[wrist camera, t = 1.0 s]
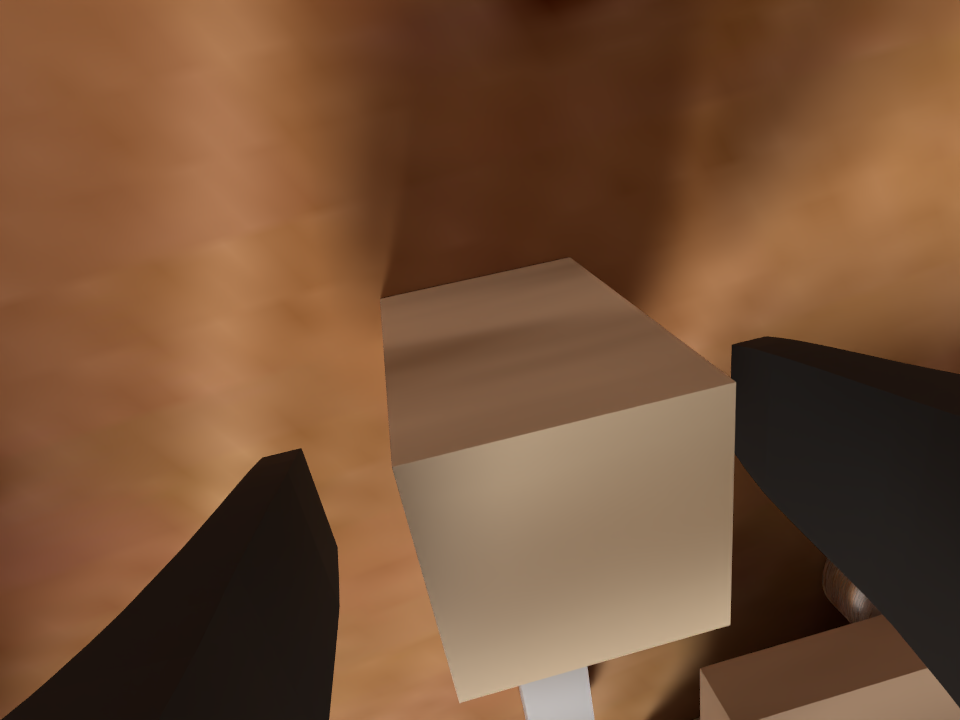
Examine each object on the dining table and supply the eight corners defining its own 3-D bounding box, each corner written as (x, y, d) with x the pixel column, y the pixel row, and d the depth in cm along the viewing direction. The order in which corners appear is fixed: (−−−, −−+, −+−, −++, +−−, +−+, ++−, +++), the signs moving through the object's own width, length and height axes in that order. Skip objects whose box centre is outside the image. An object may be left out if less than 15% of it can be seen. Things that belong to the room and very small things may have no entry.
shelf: (975, 669, 21) (1157, 838, 16) (638, 772, 20) (725, 988, 15) (1052, 412, 16) (1339, 542, 12) (617, 528, 15) (734, 726, 10)
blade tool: (615, 692, 18) (722, 944, 13) (490, 728, 18) (546, 1005, 12) (570, 256, 12) (735, 381, 7) (380, 298, 12) (392, 467, 6)
